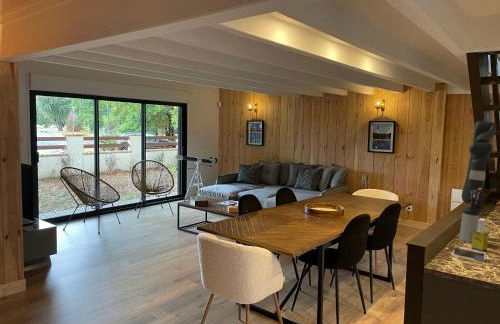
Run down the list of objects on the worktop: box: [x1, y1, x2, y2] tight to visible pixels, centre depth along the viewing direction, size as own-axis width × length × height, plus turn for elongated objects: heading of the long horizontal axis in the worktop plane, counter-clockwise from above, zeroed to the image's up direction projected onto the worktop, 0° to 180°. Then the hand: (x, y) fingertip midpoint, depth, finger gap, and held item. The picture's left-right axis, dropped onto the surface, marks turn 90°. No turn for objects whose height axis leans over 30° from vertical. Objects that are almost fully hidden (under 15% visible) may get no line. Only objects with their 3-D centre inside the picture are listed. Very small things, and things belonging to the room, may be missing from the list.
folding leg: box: [453, 246, 484, 258], centre depth 197 cm, size 14×2×4 cm, turn 61°
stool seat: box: [451, 245, 487, 263], centre depth 203 cm, size 21×15×2 cm
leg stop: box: [473, 254, 484, 263], centre depth 192 cm, size 2×4×2 cm, turn 56°
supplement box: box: [471, 230, 490, 252], centre depth 217 cm, size 6×6×11 cm
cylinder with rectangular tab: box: [478, 217, 490, 233], centre depth 246 cm, size 9×9×12 cm
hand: (472, 209), depth 206 cm, fingers closed
